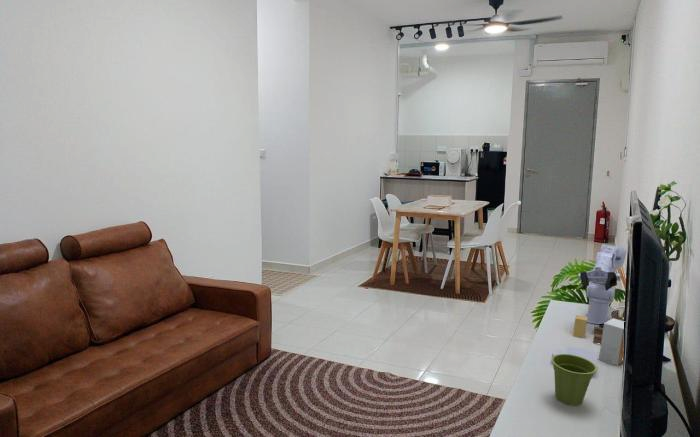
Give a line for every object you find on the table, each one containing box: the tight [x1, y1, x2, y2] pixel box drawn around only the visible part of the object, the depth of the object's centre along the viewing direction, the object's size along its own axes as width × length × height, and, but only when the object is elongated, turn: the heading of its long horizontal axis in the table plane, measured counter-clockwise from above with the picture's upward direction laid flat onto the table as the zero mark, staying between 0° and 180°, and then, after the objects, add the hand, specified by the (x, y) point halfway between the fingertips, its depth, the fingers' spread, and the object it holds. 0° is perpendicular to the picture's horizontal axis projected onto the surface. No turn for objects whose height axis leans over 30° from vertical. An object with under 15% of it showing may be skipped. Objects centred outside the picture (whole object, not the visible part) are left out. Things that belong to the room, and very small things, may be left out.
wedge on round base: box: [550, 345, 598, 366], centre depth 169 cm, size 9×7×13 cm
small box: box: [598, 317, 625, 366], centre depth 175 cm, size 8×6×13 cm
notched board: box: [592, 326, 603, 345], centre depth 192 cm, size 11×8×2 cm
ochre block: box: [572, 314, 588, 339], centre depth 195 cm, size 4×4×7 cm
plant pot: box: [551, 354, 598, 407], centre depth 147 cm, size 12×12×11 cm
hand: (594, 287), depth 190 cm, fingers open, 7 cm apart
